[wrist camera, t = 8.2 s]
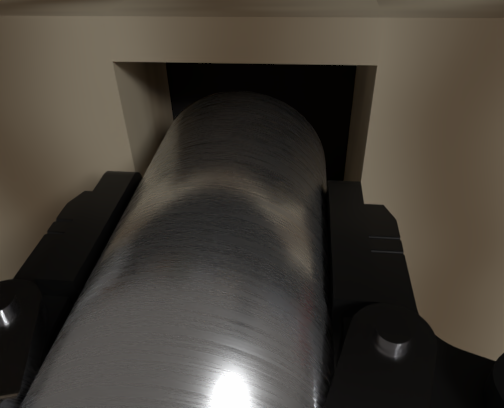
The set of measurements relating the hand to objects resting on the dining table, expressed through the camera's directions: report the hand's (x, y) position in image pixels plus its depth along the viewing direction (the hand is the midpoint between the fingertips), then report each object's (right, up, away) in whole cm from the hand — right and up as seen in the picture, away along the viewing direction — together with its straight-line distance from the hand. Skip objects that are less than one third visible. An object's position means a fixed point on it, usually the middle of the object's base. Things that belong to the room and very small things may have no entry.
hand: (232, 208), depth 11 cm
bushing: (0, +1, +1) cm, 2 cm away
